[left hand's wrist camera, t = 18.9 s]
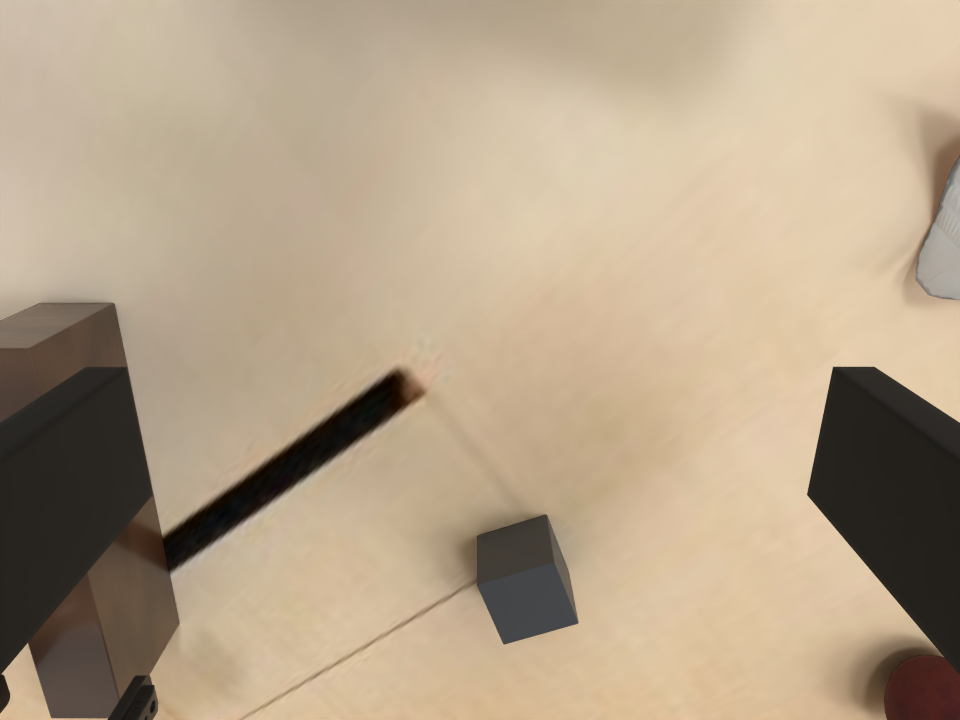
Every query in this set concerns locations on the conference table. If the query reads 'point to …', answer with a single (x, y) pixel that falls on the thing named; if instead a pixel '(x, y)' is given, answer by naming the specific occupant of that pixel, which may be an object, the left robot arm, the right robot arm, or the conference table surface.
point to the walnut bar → (127, 561)
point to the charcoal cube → (525, 580)
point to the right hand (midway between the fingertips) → (74, 685)
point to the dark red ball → (923, 690)
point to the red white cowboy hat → (943, 245)
